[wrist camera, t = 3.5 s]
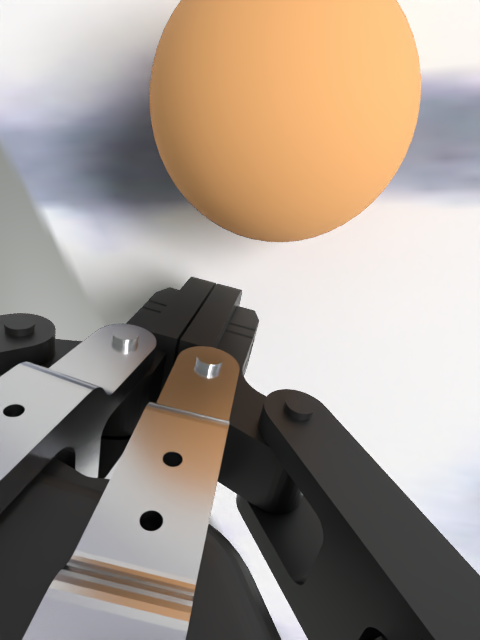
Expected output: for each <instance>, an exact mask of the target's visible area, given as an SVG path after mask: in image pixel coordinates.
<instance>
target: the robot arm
mask: <svg viewBox="0 0 480 640" xmlns="http://www.w3.org/2000/svg"><path fill="white" fill-rule="evenodd" d="M241 295H242V290H240V289H236V288H232V287H228V286H225V285H221V284H217V285H216V283H213V282H210V281H206V280H202V279H199V278H195V277H190V279H189V280H188V281H187V282H186V283H185V285H184V286H183V287H182V288H181V289H180V290H177V289H173V288H167V289H164V290H161V291H159V292H156V293H155V294H154V295H153V296H152V297H151V298H150V299H149V301H148V302H146V304H145V305H144V306H143V307H142V308H141V309H140V310H139V311H138V312H137V313H136V314H135V315H134V316H133V317H132V318H131V319H130V320H129V321H128V322H127V323H126V324H112V325H108V326H104V327H102V328H100V329H98V330H97V331H96V332H95V333H93V334H92V335H90V336H89V337H88V338H87V339H85V340H84V341H71V340H60V339H55V326H54V324H53V323H52V322H51V321H50V320H48V319H46V318H44V317H41V316H38V315H33V314H23V313H17V314H7V315H1V316H0V640H281V638H280V636H279V633H278V631H277V629H276V627H275V625H274V623H273V620H272V618H271V616H270V614H269V612H268V609H267V607H266V605H265V603H264V601H263V599H262V596H261V594H260V592H259V590H258V588H257V586H256V583H255V581H254V579H253V577H252V575H251V573H250V571H249V569H248V567H247V566H246V564H245V562H244V561H243V559H242V558H241V556H240V555H239V553H238V552H237V551H236V549H235V548H234V547H233V546H232V544H231V543H230V542H229V541H228V540H227V539H226V538H225V537H224V536H223V535H222V534H221V533H220V532H219V531H218V530H216V529H215V528H214V527H213V526H211V525H210V524H209V519H210V514H211V510H212V505H213V500H214V495H215V490H216V486H217V481H218V482H219V483H221V484H223V485H224V486H226V487H227V488H229V489H230V490H232V491H233V492H235V493H236V494H237V498H236V503H237V508H238V510H239V512H240V514H241V516H242V518H243V520H244V521H245V523H246V525H247V527H248V529H249V531H250V533H251V534H252V536H253V538H254V540H255V542H256V544H257V546H258V547H259V549H260V551H261V553H262V555H263V557H264V559H265V560H266V562H267V564H268V566H269V568H270V570H271V571H272V573H273V575H274V577H275V579H276V581H277V583H278V584H279V586H280V588H281V590H282V592H283V594H284V596H285V597H286V599H287V601H288V603H289V605H290V607H291V609H292V610H293V612H294V614H295V616H296V618H297V620H298V622H299V623H300V625H301V627H302V629H303V631H304V633H305V634H306V636H307V638H308V640H480V575H479V574H478V573H477V572H476V571H475V570H474V569H473V568H472V567H471V566H470V565H469V563H468V562H467V561H466V560H465V559H464V558H463V557H462V556H461V555H460V554H459V552H458V551H457V550H456V549H455V548H454V547H453V546H452V545H451V544H450V543H449V542H448V540H447V539H446V538H445V537H444V536H443V535H442V534H441V533H440V532H439V531H438V529H437V528H436V527H435V526H434V525H433V524H432V523H431V522H430V521H429V520H428V519H427V517H426V516H425V515H424V514H423V513H422V512H421V511H420V510H419V509H418V508H417V506H416V505H415V504H414V503H413V502H412V501H411V500H410V499H409V498H408V497H407V496H406V494H405V493H404V492H403V491H402V490H401V489H400V488H399V487H398V486H397V485H396V483H395V482H394V481H393V480H392V479H391V478H390V477H389V476H388V475H387V474H386V473H385V471H384V470H383V469H382V468H381V467H380V466H379V465H378V464H377V463H376V462H375V460H374V459H373V458H372V457H371V456H370V455H369V454H368V453H367V452H366V451H365V450H364V448H363V447H362V446H361V445H360V444H359V443H358V442H357V441H356V440H355V439H354V437H353V436H352V435H351V434H350V433H349V432H348V431H347V430H346V429H345V428H344V427H343V425H342V424H341V423H340V422H339V421H338V420H337V419H336V418H335V417H334V416H333V414H332V413H331V412H330V411H329V410H328V409H327V408H326V407H325V406H324V405H323V404H322V403H321V402H320V401H319V400H317V399H316V398H314V397H312V396H310V395H308V394H306V393H303V392H300V391H296V390H290V389H283V390H277V391H274V392H272V393H270V394H269V395H268V396H267V397H266V396H264V395H263V394H261V393H259V392H257V391H256V390H255V389H253V388H252V387H251V386H250V385H249V384H248V383H247V382H246V380H245V378H244V374H245V371H246V368H247V365H248V361H249V358H250V354H251V350H252V346H253V342H254V338H255V334H256V331H257V327H258V323H259V319H258V317H257V315H256V313H255V311H254V310H250V309H246V308H243V307H239V304H240V300H241Z"/></svg>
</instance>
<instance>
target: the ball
mask: <svg viewBox="0 0 480 640" xmlns="http://www.w3.org/2000/svg"><path fill="white" fill-rule="evenodd" d="M420 98H421V74H420V65H419V56H418V52H417V48H416V44H415V40H414V36H413V33H412V31H411V28H410V26H409V23H408V21H407V18H406V16H405V14H404V12H403V11H402V9H401V7H400V5H399V4H398V2H397V0H181V1H180V3H179V4H178V5H177V7H176V8H175V10H174V11H173V13H172V15H171V17H170V19H169V21H168V23H167V25H166V26H165V28H164V31H163V33H162V36H161V39H160V41H159V44H158V47H157V50H156V54H155V58H154V62H153V66H152V73H151V81H150V114H151V123H152V128H153V133H154V138H155V142H156V145H157V148H158V151H159V154H160V157H161V159H162V161H163V163H164V165H165V168H166V170H167V172H168V174H169V175H170V177H171V179H172V180H173V182H174V184H175V185H176V187H177V188H178V189H179V190H180V192H181V193H182V194H183V196H184V197H185V198H186V199H187V200H188V201H189V202H190V203H191V204H192V205H193V206H194V207H195V208H196V209H197V210H198V211H199V212H200V213H202V214H203V215H204V216H205V217H207V218H208V219H209V220H211V221H212V222H214V223H216V224H217V225H219V226H220V227H222V228H224V229H226V230H228V231H231V232H233V233H235V234H237V235H240V236H244V237H247V238H250V239H255V240H261V241H267V242H289V241H299V240H304V239H308V238H313V237H316V236H319V235H321V234H324V233H327V232H329V231H331V230H333V229H335V228H337V227H339V226H341V225H343V224H345V223H346V222H348V221H349V220H351V219H352V218H354V217H355V216H357V215H358V214H360V213H361V212H362V211H363V210H364V209H365V208H367V207H368V206H369V205H370V204H371V203H372V202H373V201H374V200H375V199H376V198H377V197H378V196H379V195H380V194H381V193H382V191H383V190H384V189H385V188H386V187H387V185H388V184H389V182H390V181H391V179H392V178H393V177H394V175H395V174H396V172H397V170H398V168H399V167H400V165H401V163H402V161H403V159H404V157H405V155H406V153H407V150H408V148H409V145H410V143H411V140H412V138H413V134H414V130H415V126H416V123H417V119H418V112H419V105H420Z"/></svg>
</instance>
